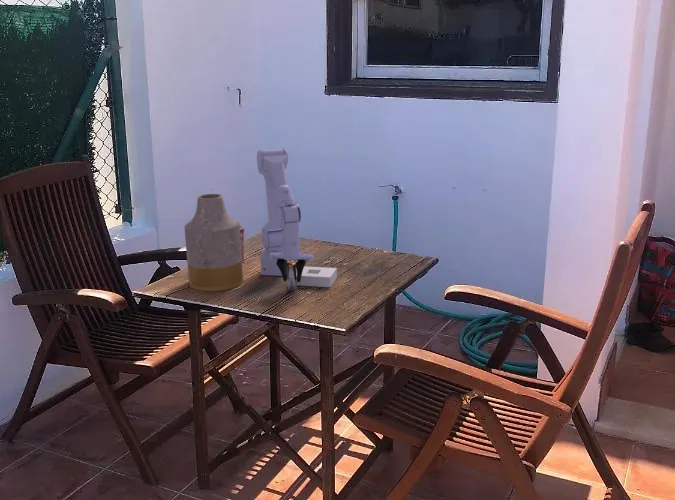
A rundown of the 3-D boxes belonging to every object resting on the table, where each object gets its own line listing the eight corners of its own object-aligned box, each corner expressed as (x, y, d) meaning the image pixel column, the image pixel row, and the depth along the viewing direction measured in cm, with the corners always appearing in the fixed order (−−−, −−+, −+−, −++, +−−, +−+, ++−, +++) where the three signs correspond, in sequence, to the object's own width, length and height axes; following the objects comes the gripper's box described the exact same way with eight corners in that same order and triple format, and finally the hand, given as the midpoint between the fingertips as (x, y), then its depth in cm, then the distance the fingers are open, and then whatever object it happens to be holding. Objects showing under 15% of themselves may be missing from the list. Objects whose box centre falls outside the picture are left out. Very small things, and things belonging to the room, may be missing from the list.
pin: (287, 290, 242) (285, 264, 239) (289, 287, 245) (288, 261, 242) (295, 291, 241) (294, 265, 238) (298, 287, 244) (297, 262, 241)
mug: (251, 260, 275) (249, 225, 271) (237, 266, 267) (234, 231, 264) (224, 255, 281) (222, 222, 277) (209, 262, 273) (207, 227, 269)
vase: (196, 295, 239) (188, 204, 231) (184, 278, 256) (176, 193, 247) (249, 286, 246) (244, 198, 238) (234, 271, 262) (229, 188, 254)
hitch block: (290, 284, 247) (289, 275, 246) (298, 275, 256) (298, 266, 255) (330, 287, 244) (330, 277, 243) (337, 277, 253) (336, 268, 252)
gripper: (265, 244, 236) (267, 283, 240) (308, 246, 233) (310, 286, 237) (272, 238, 243) (274, 276, 246) (314, 240, 239) (315, 279, 243)
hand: (292, 280), depth 242 cm, fingers open, 4 cm apart
